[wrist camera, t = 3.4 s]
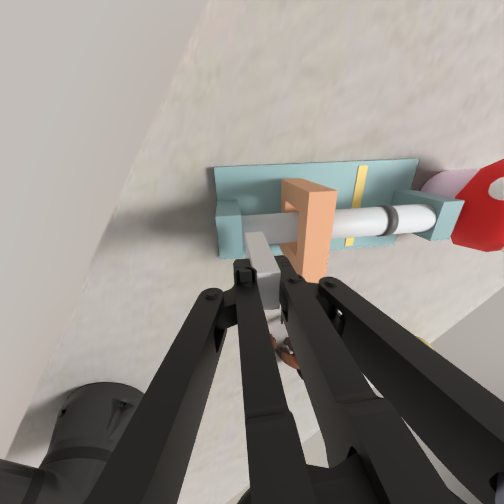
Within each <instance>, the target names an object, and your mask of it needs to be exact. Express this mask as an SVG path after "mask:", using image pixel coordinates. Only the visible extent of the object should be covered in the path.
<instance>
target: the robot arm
mask: <svg viewBox="0 0 504 504" xmlns="http://www.w3.org/2000/svg"><path fill="white" fill-rule="evenodd" d="M245 245H246V259H237V260H235V261H234V263H233V267H234V282H235V283H234V286H233V287H232V288H231V289H229V290H227V291H225V292H223V291H222V290H220V289H218V288H209V289H206V290H204V291H202V292H201V293H200V295H199V297H198V298H197V300H196V302H195V304H194V306H193V307H192V309H191V311H190V313H189V315H188V316H187V318H186V320H185V322H184V324H183V326H182V327H181V329H180V331H179V333H178V335H177V336H176V338H175V340H174V342H173V344H172V345H171V347H170V349H169V351H168V353H167V355H166V356H165V358H164V360H163V362H162V364H161V365H160V367H159V369H158V371H157V373H156V374H155V376H154V378H153V380H152V382H151V383H150V385H149V387H148V389H147V391H146V393H145V394H143V393H142V392H140V391H139V390H137V389H135V388H133V387H130V386H127V385H123V384H117V383H96V384H91V385H87V386H84V387H81V388H79V389H77V390H75V391H74V392H72V393H71V394H70V395H69V397H68V398H67V400H66V401H65V403H64V404H63V406H62V408H61V409H60V411H59V414H58V417H57V421H56V424H55V428H54V431H53V435H52V438H51V442H50V445H49V449H48V452H47V454H46V456H45V458H44V460H43V461H42V463H41V465H40V466H39V468H34V467H31V466H27V465H23V464H19V463H15V462H11V461H7V460H3V459H0V504H177V501H178V498H179V494H180V491H181V487H182V484H183V480H184V477H185V474H186V470H187V467H188V463H189V460H190V457H191V453H192V450H193V446H194V443H195V439H196V436H197V433H198V429H199V426H200V422H201V419H202V415H203V412H204V409H205V405H206V402H207V398H208V395H209V391H210V388H211V385H212V381H213V378H214V374H215V371H216V368H217V364H218V361H219V357H220V354H221V350H222V347H223V344H224V340H225V337H226V333H227V328H229V327H231V326H234V325H236V324H238V334H239V347H240V360H241V373H242V386H243V399H244V412H245V426H246V439H247V452H248V465H249V478H250V488H249V489H248V490H247V491H246V492H245V494H244V495H243V496H242V497H241V499H240V500H239V502H238V503H237V504H466V503H465V502H464V501H462V500H461V499H460V498H459V497H458V496H456V495H455V494H454V493H453V492H451V491H450V490H449V489H448V488H447V486H446V485H445V483H444V482H443V480H442V479H441V477H440V476H439V474H438V473H437V471H436V469H435V468H434V466H433V465H432V463H431V462H430V460H429V459H428V458H427V456H426V454H425V453H424V451H423V450H422V448H421V447H420V445H419V444H418V442H417V441H416V439H415V437H414V436H413V434H412V433H411V431H410V430H409V428H408V427H407V425H406V424H405V422H406V423H407V424H408V425H409V426H410V427H411V428H412V430H413V431H414V432H415V433H416V434H417V435H418V436H419V437H420V439H421V440H422V441H423V442H424V443H425V444H426V445H427V446H428V448H429V449H430V450H431V451H432V452H433V453H434V454H435V456H436V457H437V458H438V459H439V460H440V461H441V462H442V463H443V464H444V465H445V466H446V467H447V469H448V470H449V471H450V472H451V473H452V474H453V475H454V476H455V477H456V478H457V479H458V480H459V481H460V482H461V483H462V484H463V485H464V486H465V487H466V488H467V489H468V490H469V491H470V492H471V493H472V494H473V495H475V497H476V498H477V499H478V500H479V501H481V502H482V503H483V504H504V402H503V401H501V400H500V399H499V398H498V397H496V396H495V395H493V394H492V393H491V392H490V391H488V390H487V389H485V388H484V387H483V386H481V385H480V384H479V383H477V382H476V381H475V380H473V379H472V378H471V377H469V376H468V375H467V374H465V373H464V372H462V371H461V370H460V369H458V368H457V367H456V366H454V365H453V364H452V363H450V362H449V361H448V360H446V359H445V358H444V357H442V356H441V355H440V354H438V353H437V352H436V351H434V350H433V349H432V348H430V347H429V346H428V345H426V344H425V343H424V342H422V341H421V340H420V339H418V338H417V337H416V336H414V335H413V334H411V333H410V332H409V331H407V330H406V329H405V328H403V327H402V326H401V325H399V324H398V323H397V322H395V321H394V320H393V319H391V318H390V317H389V316H387V315H386V314H385V313H383V312H382V311H381V310H379V309H378V308H376V307H375V306H374V305H372V304H371V303H370V302H368V301H367V300H366V299H364V298H363V297H362V296H360V295H359V294H358V293H356V292H355V291H354V290H352V289H351V288H350V287H348V286H347V285H346V284H344V283H343V282H341V281H340V280H338V279H337V278H333V277H323V278H320V280H319V283H311V282H306V280H305V279H304V278H303V277H302V276H301V275H299V274H297V273H296V272H295V270H294V268H293V266H292V265H291V263H290V261H289V259H288V258H287V257H285V256H284V255H280V256H273V254H272V251H271V249H270V247H269V245H268V243H267V240H266V238H265V236H264V234H263V232H248V233H245ZM280 304H281V324H283V321H284V324H285V326H286V329H287V332H288V335H289V338H290V341H291V344H292V347H293V350H294V353H295V356H296V359H297V362H298V365H299V368H300V371H301V374H302V377H303V380H304V383H305V386H306V389H307V392H308V395H309V398H310V400H311V403H312V406H313V409H314V412H315V415H316V418H317V421H318V424H319V427H320V430H321V433H322V436H323V439H324V442H325V446H326V453H327V460H328V464H329V468H324V467H319V466H313V465H308V464H306V461H305V457H304V454H303V450H302V446H301V442H300V438H299V434H298V431H297V427H296V423H295V420H294V417H293V414H292V412H291V411H289V409H288V406H287V402H286V398H285V394H284V390H283V386H282V382H281V378H280V374H279V369H278V365H277V361H276V357H275V353H274V349H273V345H272V341H271V337H270V333H269V329H268V325H267V321H266V317H265V313H264V310H271V309H279V307H280ZM338 310H339V311H341V312H342V315H341V314H340V313H339V312H338ZM362 373H363V374H364V375H365V376H366V378H367V379H368V380H369V381H370V382H371V383H372V384H373V385H374V387H375V388H376V389H377V390H378V391H379V392H380V393H381V394H382V395H383V397H384V398H381V397H378V396H377V395H376V394H375V393H374V392H373V390H372V388H371V387H370V385H369V384H368V382H367V380H366V379H365V377H364V375H363V374H362ZM401 417H402V418H403V419H404V420H405V422H404V421H403V419H402V418H401Z"/></svg>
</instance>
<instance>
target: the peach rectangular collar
mask: <svg viewBox="0 0 504 504" xmlns="http://www.w3.org/2000/svg"><path fill="white" fill-rule="evenodd" d="M337 194H338V191H337V190H334V189H332V188H329V187H326V186H323V185H320V184H317V183H314V182H311V181H308V180H306V179H303V178H291V179H281V213H290V212H299V222H298V237H297V242H288V243H280V250H281V251H282V253H283V255H284V256H285V257H287V258H288V259H289V261H290V263H291V265H292V266H293V268H294V270H295V272H296V273H297V274H299V275H301V276H302V277H303V278H304V279H305V280H306V282H311V283H319V280H320V278H323V277H326V271H327V264H328V257H329V250H330V243H331V236H332V229H333V222H334V215H335V208H336V201H337Z"/></svg>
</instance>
